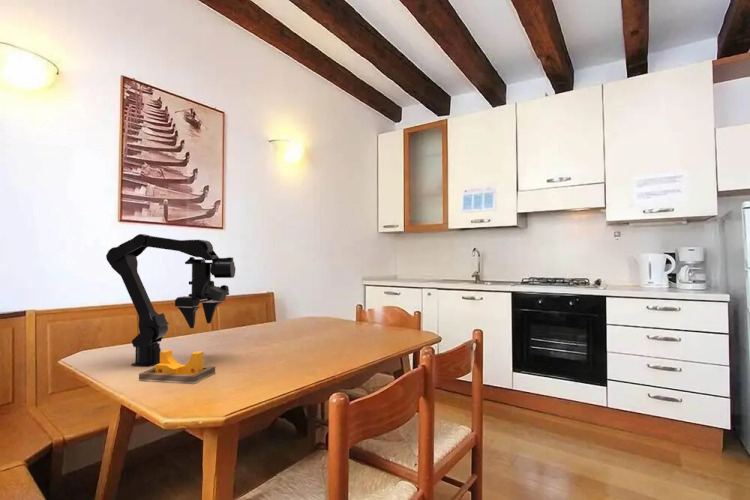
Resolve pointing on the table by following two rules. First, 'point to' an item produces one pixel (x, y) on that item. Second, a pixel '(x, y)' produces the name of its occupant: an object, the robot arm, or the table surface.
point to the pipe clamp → (174, 367)
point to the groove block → (176, 376)
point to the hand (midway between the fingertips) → (200, 325)
